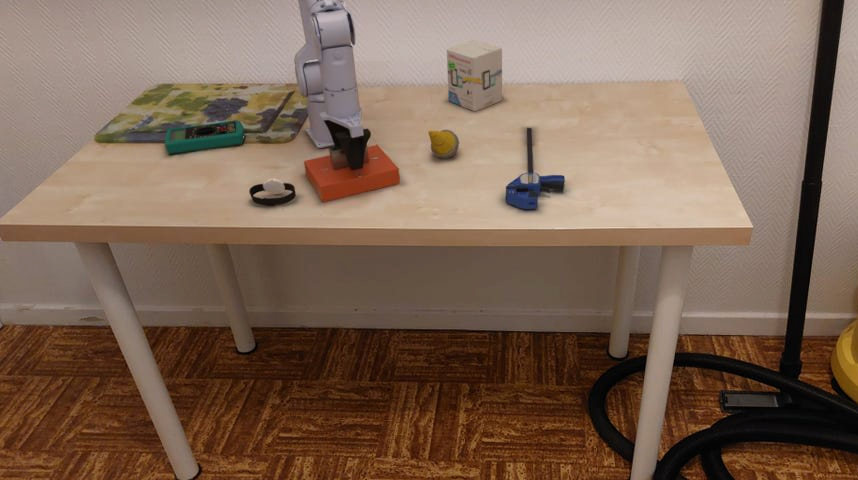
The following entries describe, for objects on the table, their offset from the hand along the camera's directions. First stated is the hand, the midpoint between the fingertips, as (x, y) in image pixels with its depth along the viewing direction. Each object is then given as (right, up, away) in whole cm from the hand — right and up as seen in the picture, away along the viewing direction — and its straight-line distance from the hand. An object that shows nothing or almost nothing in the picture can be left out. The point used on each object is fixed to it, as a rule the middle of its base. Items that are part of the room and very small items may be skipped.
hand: (349, 159), depth 130 cm
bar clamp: (+33, -1, +4) cm, 33 cm away
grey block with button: (0, -1, +1) cm, 1 cm away
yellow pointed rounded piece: (+16, +1, +8) cm, 18 cm away
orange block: (0, -3, +2) cm, 4 cm away
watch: (-12, -8, -3) cm, 15 cm away
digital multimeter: (-31, +6, +17) cm, 36 cm away
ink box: (+23, +17, +30) cm, 42 cm away
